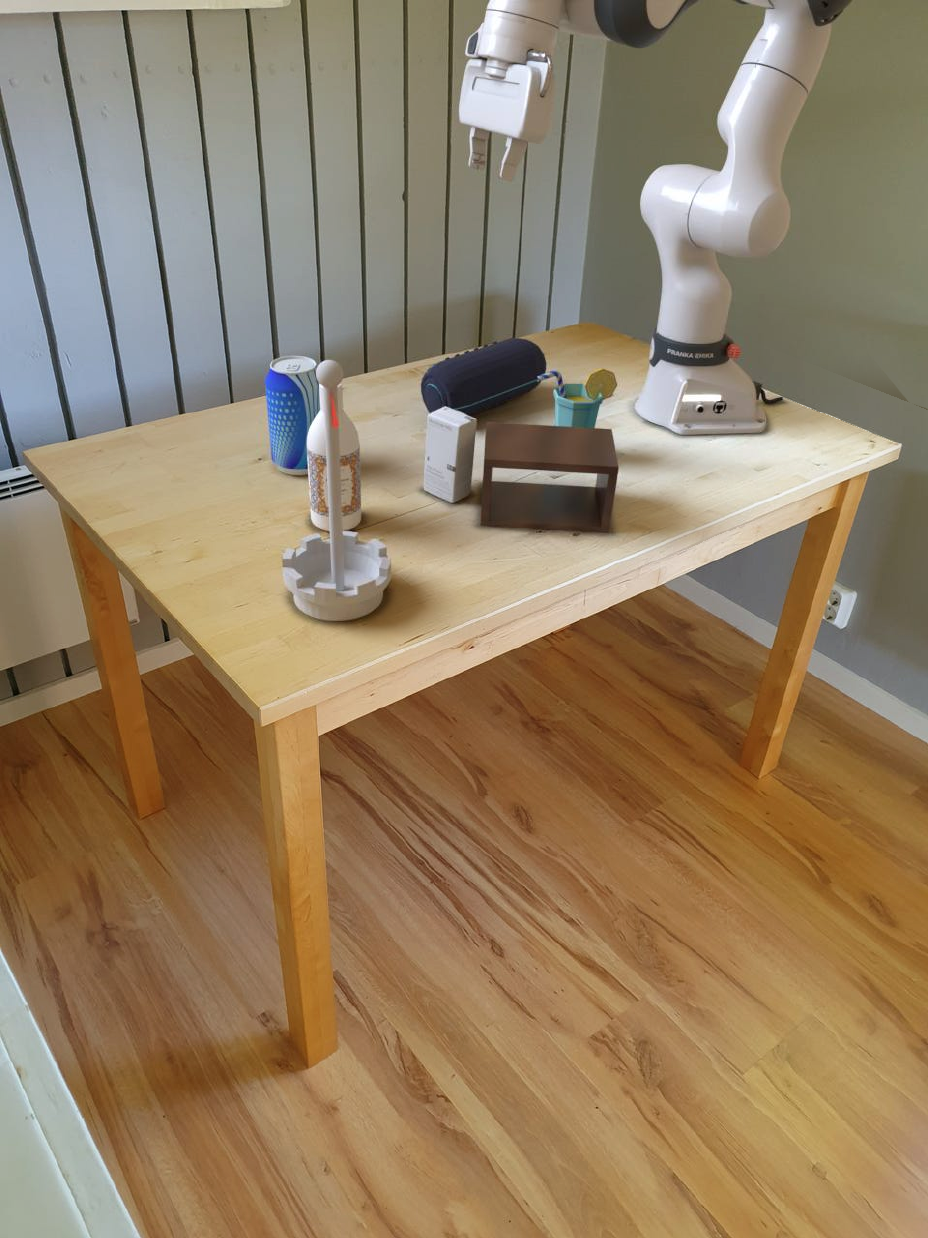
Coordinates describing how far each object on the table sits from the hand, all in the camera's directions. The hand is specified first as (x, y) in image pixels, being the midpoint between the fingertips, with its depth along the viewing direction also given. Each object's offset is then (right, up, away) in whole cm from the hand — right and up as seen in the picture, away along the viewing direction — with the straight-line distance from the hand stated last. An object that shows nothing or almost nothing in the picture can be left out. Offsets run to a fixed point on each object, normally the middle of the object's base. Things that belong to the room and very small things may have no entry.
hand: (489, 173), depth 120 cm
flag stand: (-19, -53, -1) cm, 56 cm away
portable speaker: (0, -19, +47) cm, 51 cm away
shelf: (+8, -40, +19) cm, 45 cm away
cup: (+13, -30, +33) cm, 46 cm away
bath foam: (-21, -42, +14) cm, 49 cm away
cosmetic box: (-6, -37, +22) cm, 43 cm away
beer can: (-28, -32, +27) cm, 50 cm away
